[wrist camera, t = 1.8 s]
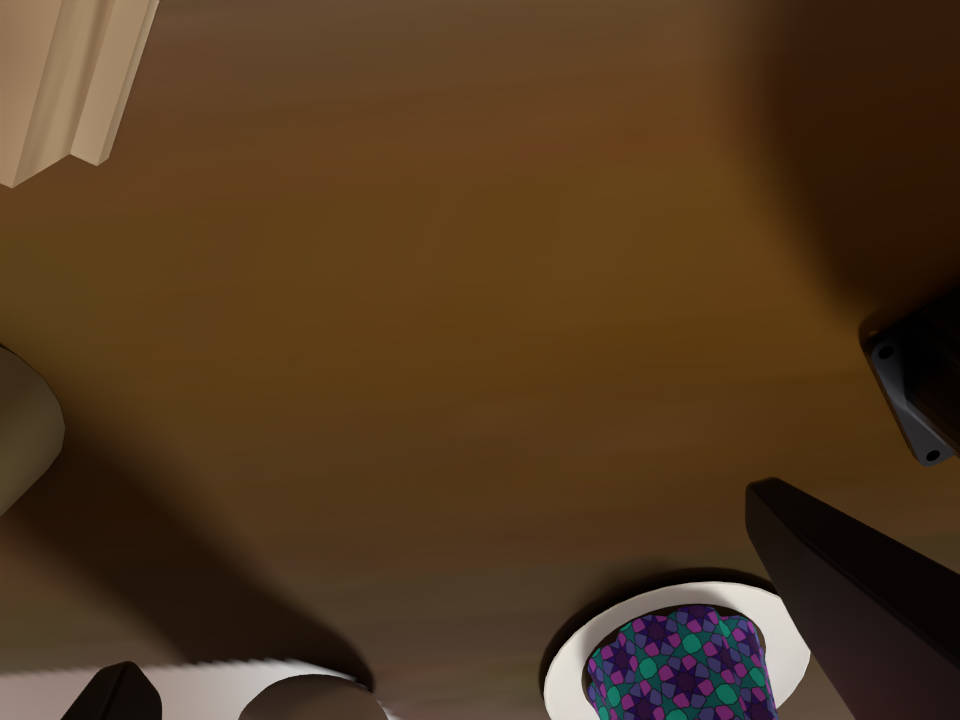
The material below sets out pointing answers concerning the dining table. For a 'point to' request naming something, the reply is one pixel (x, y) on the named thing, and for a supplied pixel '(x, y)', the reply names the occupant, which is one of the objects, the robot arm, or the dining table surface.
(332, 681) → the plastic bottle
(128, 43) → the cradle
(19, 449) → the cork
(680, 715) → the patterned bowl
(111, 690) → the robot arm
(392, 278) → the dining table surface
